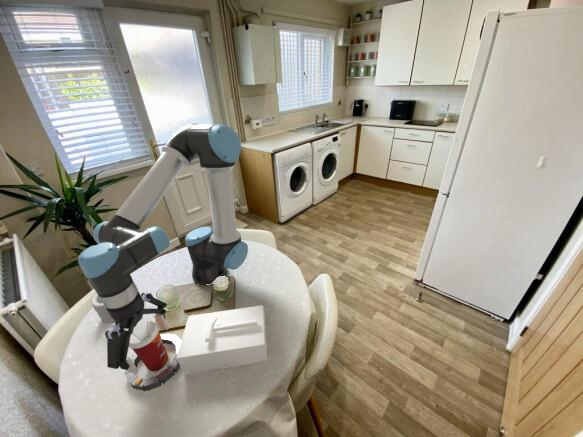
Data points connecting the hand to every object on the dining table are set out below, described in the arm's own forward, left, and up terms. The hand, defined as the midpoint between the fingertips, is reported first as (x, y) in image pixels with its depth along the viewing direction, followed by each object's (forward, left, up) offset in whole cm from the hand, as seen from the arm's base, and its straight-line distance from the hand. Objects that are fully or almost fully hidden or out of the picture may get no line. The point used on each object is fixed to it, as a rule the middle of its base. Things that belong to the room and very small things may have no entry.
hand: (150, 348), depth 72 cm
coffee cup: (0, 0, -7) cm, 7 cm away
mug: (+16, -28, -8) cm, 33 cm away
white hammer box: (-22, +3, -8) cm, 23 cm away
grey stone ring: (0, 0, -7) cm, 7 cm away
